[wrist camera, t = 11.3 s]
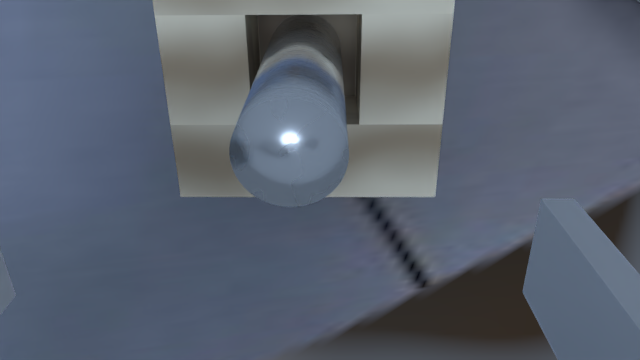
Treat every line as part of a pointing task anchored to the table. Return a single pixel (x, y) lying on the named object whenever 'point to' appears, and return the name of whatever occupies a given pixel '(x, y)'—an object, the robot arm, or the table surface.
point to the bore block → (358, 77)
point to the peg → (294, 118)
